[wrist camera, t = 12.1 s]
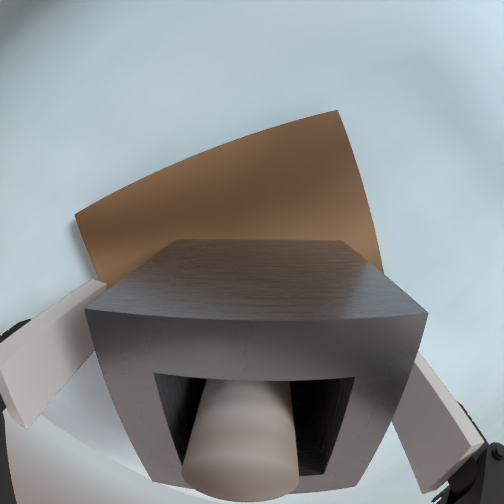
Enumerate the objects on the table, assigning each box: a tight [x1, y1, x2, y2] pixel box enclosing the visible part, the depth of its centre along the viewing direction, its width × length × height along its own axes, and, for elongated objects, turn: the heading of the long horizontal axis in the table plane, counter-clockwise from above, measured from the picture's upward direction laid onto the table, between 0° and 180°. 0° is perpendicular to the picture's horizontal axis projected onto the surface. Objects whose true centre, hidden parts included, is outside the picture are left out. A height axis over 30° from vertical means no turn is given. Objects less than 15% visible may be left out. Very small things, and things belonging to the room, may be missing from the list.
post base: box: [75, 110, 384, 502], centre depth 9 cm, size 16×13×9 cm
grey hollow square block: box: [84, 239, 428, 494], centre depth 10 cm, size 11×7×7 cm, turn 0°
